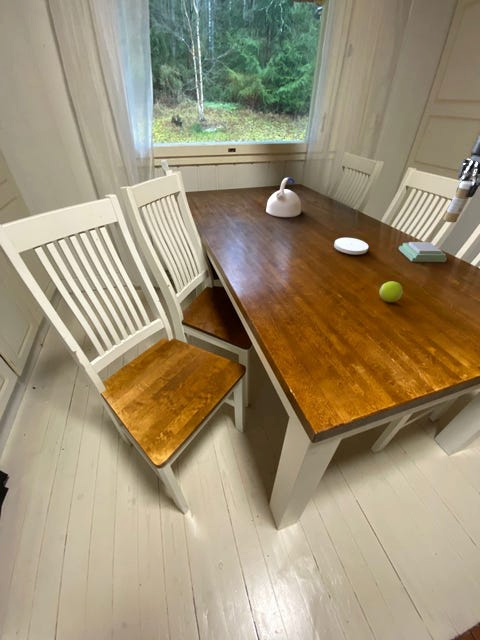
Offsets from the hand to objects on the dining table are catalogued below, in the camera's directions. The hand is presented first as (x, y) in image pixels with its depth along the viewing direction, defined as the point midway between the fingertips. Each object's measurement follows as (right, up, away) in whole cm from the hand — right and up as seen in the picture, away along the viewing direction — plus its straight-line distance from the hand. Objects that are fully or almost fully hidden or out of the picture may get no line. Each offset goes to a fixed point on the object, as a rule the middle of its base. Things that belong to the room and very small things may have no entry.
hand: (463, 194), depth 97 cm
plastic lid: (-31, -14, +23) cm, 41 cm away
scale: (-2, -17, +19) cm, 26 cm away
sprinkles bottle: (-1, -7, +6) cm, 10 cm away
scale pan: (-2, -15, +18) cm, 23 cm away
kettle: (-54, +19, +62) cm, 85 cm away
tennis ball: (-31, -38, -7) cm, 50 cm away
